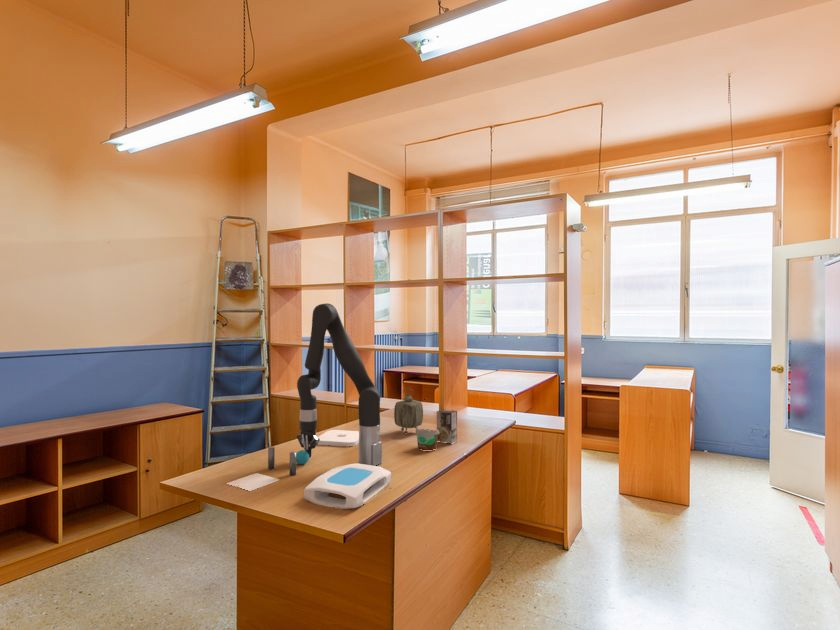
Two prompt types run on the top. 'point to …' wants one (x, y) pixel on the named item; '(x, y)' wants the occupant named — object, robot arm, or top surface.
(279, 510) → the top surface
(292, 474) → the post
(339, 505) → the step platform
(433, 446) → the food container
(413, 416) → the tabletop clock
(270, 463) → the post
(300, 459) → the ball
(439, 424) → the coffee box
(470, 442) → the top surface
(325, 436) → the computer
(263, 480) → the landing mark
